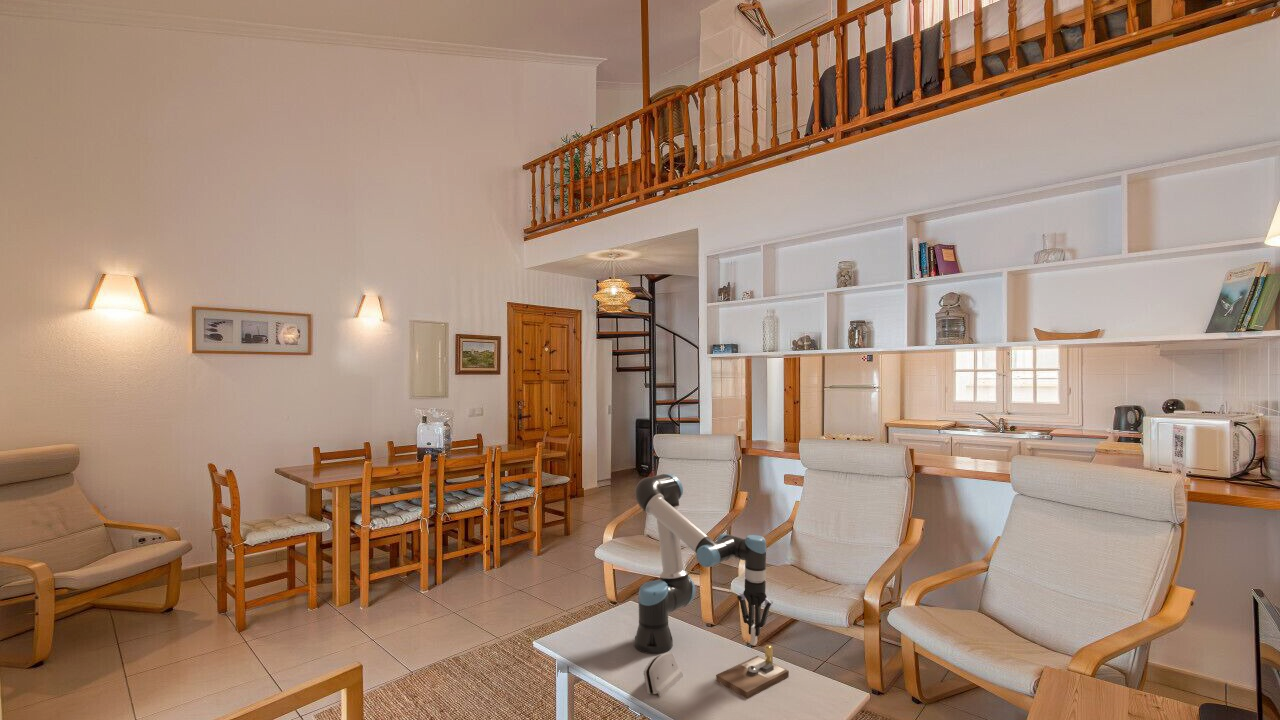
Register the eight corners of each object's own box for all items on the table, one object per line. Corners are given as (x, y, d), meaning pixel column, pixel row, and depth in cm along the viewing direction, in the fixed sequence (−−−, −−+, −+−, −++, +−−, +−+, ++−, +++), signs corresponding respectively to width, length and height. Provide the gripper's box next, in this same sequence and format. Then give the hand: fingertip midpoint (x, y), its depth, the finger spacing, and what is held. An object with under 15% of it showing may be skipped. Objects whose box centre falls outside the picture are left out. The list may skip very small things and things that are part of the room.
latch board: (716, 680, 200) (716, 670, 201) (757, 661, 214) (757, 651, 214) (747, 698, 189) (746, 687, 190) (788, 676, 203) (788, 666, 203)
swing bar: (753, 675, 200) (753, 657, 200) (746, 671, 202) (745, 653, 202) (774, 664, 207) (774, 646, 207) (767, 660, 210) (767, 643, 210)
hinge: (660, 698, 190) (651, 666, 192) (648, 699, 192) (640, 667, 194) (683, 675, 204) (675, 646, 206) (672, 676, 206) (664, 647, 208)
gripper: (775, 579, 211) (774, 644, 211) (742, 572, 218) (740, 635, 218) (769, 586, 205) (767, 653, 204) (734, 578, 211) (733, 643, 211)
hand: (753, 643), depth 211 cm, fingers closed
